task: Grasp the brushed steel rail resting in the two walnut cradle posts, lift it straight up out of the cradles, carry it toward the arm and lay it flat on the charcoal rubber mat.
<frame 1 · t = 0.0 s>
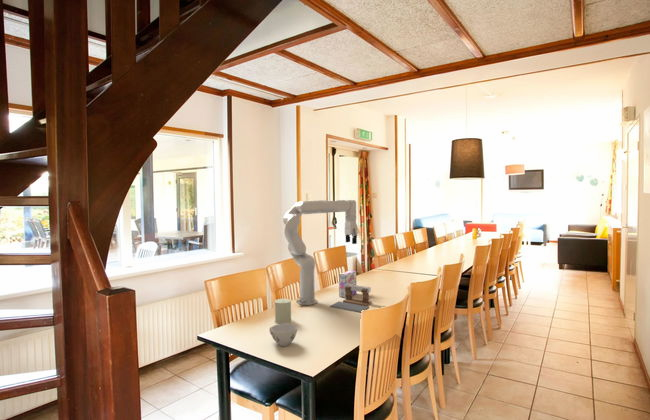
hand: (351, 242, 248), 37 cm above the table, tool pointing down, fingers open, 9 cm apart
steel rail: (357, 290, 235), point 8 cm above the table, touching cradle rack
cradle rack: (357, 302, 235), on the table
can: (283, 321, 203), on the table
rubber mat: (349, 307, 226), on the table
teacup: (282, 343, 173), on the table
candy box: (348, 295, 252), on the table
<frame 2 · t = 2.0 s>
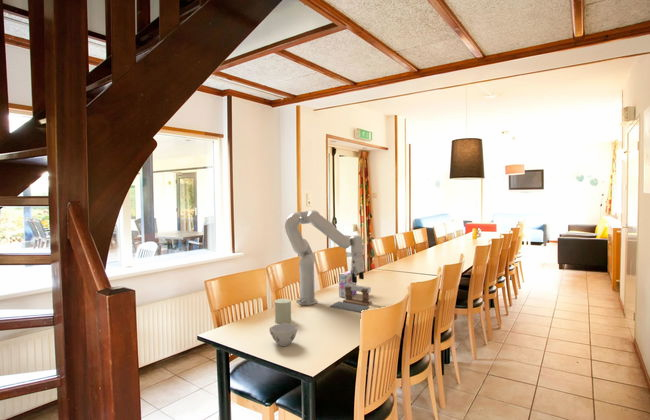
hand: (358, 280, 234), 14 cm above the table, tool pointing down, fingers open, 9 cm apart
nothing on the table moved.
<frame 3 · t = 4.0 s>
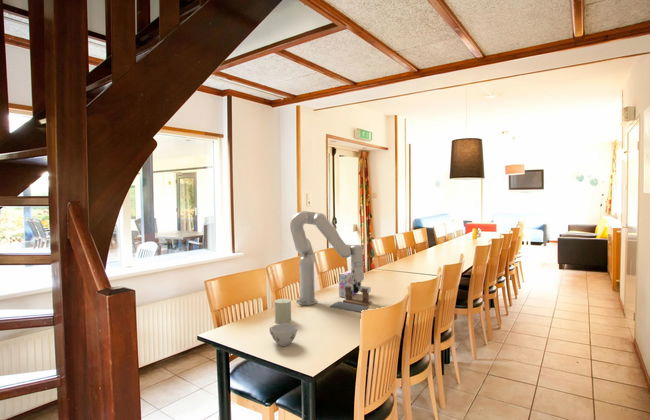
hand: (357, 291, 235), 7 cm above the table, tool pointing down, fingers closed on steel rail, 3 cm apart
steel rail: (357, 290, 235), point 8 cm above the table, touching cradle rack, gripper
everything else where it was.
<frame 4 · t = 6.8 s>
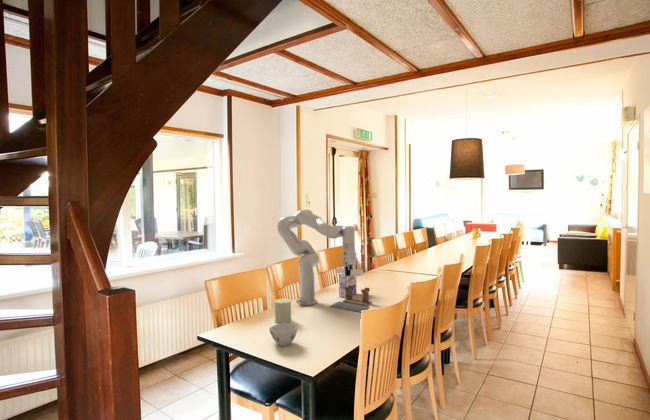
hand: (349, 275, 225), 20 cm above the table, tool pointing down, fingers closed on steel rail, 3 cm apart
steel rail: (349, 273, 225), point 21 cm above the table, touching gripper
everything else where it was.
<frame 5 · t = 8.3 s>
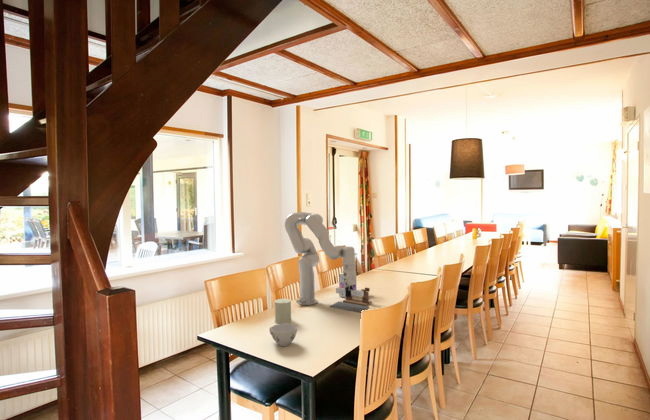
hand: (349, 295, 225), 7 cm above the table, tool pointing down, fingers closed on steel rail, 3 cm apart
steel rail: (349, 294, 225), point 8 cm above the table, touching gripper
everything else where it was.
when the fingers open (2 cm above the table, at t = 9.7 s): steel rail drops 2 cm, resting on rubber mat.
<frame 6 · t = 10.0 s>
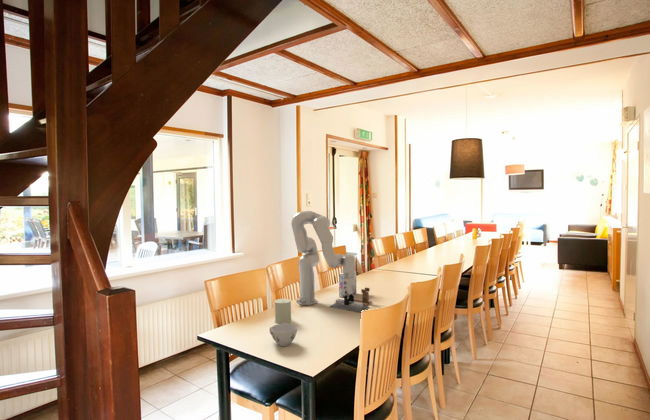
hand: (349, 303, 225), 2 cm above the table, tool pointing down, fingers open, 5 cm apart
steel rail: (349, 306, 226), point 1 cm above the table, touching rubber mat
everything else where it was.
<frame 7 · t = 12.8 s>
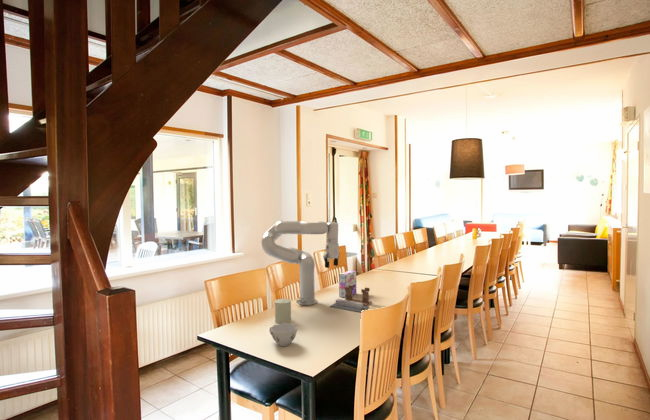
hand: (331, 266, 238), 23 cm above the table, tool pointing down, fingers open, 9 cm apart
nothing on the table moved.
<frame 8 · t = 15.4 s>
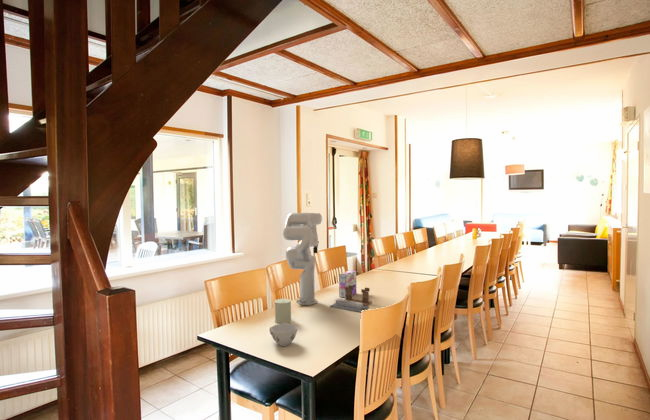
hand: (311, 254, 258), 28 cm above the table, tool pointing down, fingers open, 9 cm apart
nothing on the table moved.
at the end: steel rail inside the target area (0.0 cm from its centre), point 0.6 cm above the table; steel rail tilted 0°; steel rail touching rubber mat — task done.
